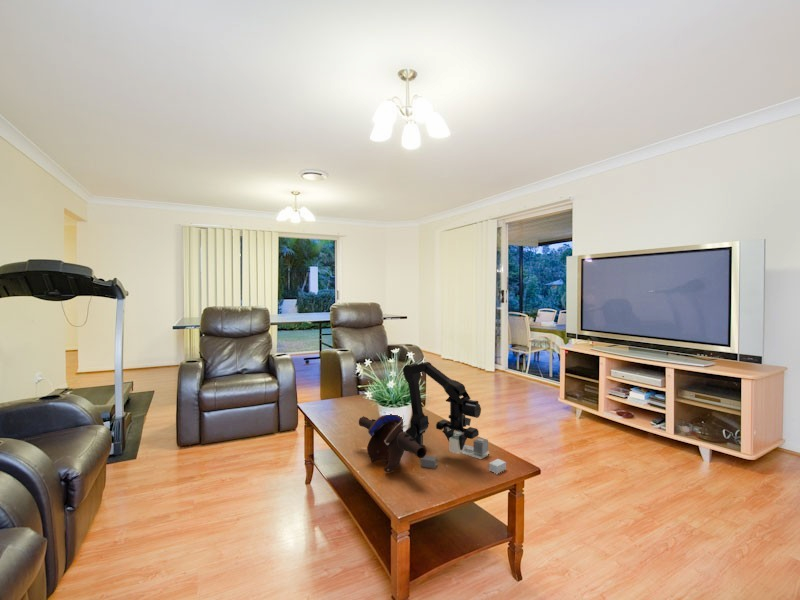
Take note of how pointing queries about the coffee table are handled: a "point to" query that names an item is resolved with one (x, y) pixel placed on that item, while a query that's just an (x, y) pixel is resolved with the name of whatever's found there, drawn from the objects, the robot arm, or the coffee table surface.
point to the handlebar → (389, 440)
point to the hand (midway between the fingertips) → (456, 448)
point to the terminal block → (497, 466)
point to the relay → (429, 462)
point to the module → (455, 444)
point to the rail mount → (475, 447)
